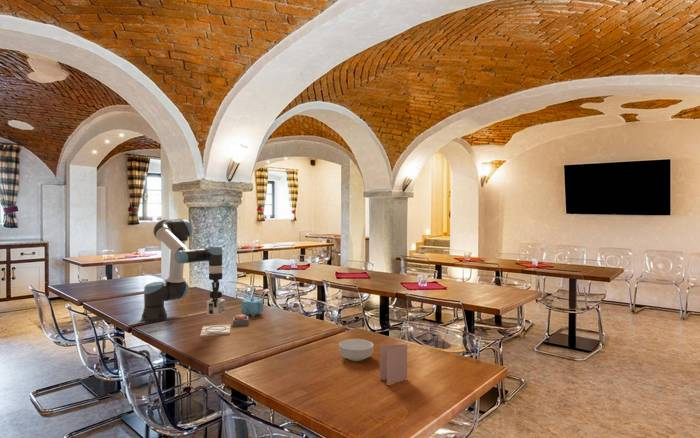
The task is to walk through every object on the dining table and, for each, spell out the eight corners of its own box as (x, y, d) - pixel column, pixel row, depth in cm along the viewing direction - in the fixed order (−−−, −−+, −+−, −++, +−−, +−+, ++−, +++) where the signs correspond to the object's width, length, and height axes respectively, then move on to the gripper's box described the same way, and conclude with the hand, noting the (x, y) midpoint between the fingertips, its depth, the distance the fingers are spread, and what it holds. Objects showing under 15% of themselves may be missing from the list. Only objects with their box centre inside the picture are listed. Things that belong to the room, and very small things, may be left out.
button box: (233, 322, 267) (233, 316, 266) (248, 321, 269) (248, 315, 269) (233, 326, 258) (233, 320, 258) (248, 325, 260) (248, 319, 260)
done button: (235, 318, 265) (235, 314, 265) (245, 318, 267) (245, 314, 267) (235, 321, 260) (235, 317, 260) (245, 320, 261) (245, 316, 261)
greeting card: (406, 378, 180) (406, 343, 180) (409, 386, 173) (409, 349, 172) (379, 379, 180) (379, 344, 179) (381, 386, 172) (381, 350, 172)
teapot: (235, 316, 280) (235, 299, 280) (251, 310, 297) (251, 294, 297) (255, 319, 274) (255, 301, 274) (270, 312, 291) (270, 296, 291)
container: (218, 315, 242) (218, 292, 242) (206, 314, 244) (206, 292, 244) (225, 312, 250) (225, 290, 250) (213, 311, 251) (213, 289, 251)
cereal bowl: (362, 367, 193) (362, 352, 192) (332, 360, 201) (332, 345, 201) (379, 356, 207) (379, 342, 207) (350, 350, 216) (350, 336, 216)
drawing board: (202, 327, 254) (202, 325, 254) (230, 326, 258) (230, 323, 258) (200, 336, 237) (200, 334, 237) (229, 334, 241) (229, 332, 241)
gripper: (221, 275, 236) (221, 314, 237) (223, 269, 258) (223, 305, 259) (207, 275, 234) (207, 315, 235) (210, 269, 256) (210, 306, 257)
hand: (216, 310), depth 247 cm, fingers closed on container, 10 cm apart
